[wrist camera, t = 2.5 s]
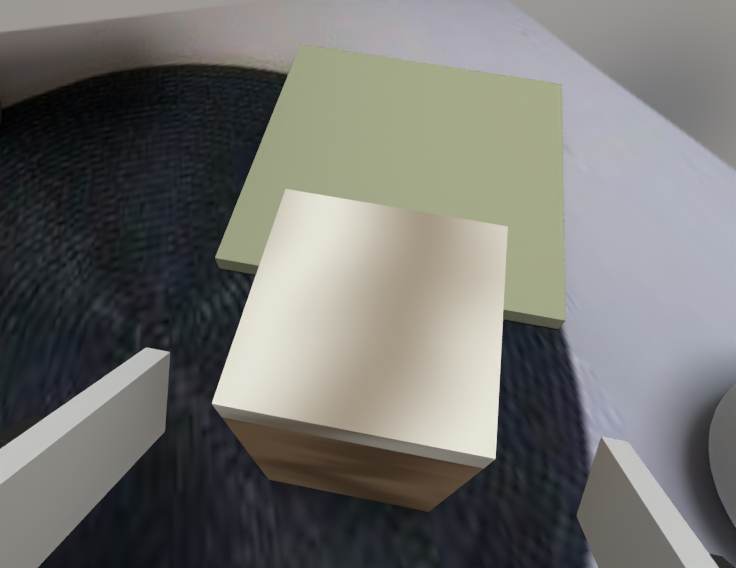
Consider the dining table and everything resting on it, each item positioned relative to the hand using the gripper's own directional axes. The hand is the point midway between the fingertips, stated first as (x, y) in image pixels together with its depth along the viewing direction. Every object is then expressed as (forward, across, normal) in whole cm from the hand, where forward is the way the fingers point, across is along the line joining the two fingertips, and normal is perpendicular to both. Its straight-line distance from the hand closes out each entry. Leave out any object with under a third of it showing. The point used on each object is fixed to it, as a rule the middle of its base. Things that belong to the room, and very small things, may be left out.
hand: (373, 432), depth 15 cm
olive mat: (+18, -1, +7) cm, 20 cm away
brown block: (+8, -1, -4) cm, 8 cm away
